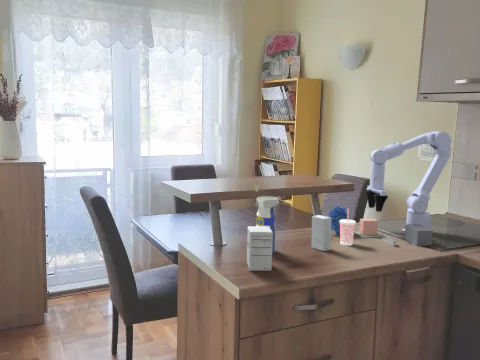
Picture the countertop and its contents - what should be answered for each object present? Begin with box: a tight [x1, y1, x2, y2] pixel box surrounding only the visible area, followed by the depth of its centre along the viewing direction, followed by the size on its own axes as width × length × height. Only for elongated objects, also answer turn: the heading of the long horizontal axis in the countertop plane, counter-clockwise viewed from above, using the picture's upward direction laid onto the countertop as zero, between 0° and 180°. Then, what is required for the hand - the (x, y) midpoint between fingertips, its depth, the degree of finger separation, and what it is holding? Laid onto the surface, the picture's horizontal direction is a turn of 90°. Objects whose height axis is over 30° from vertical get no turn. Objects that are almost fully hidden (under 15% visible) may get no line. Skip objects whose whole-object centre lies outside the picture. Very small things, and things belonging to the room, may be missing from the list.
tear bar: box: [381, 233, 397, 247], centre depth 177 cm, size 1×10×2 cm, turn 7°
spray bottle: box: [253, 182, 280, 254], centre depth 161 cm, size 8×9×25 cm
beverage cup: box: [339, 207, 357, 246], centre depth 173 cm, size 6×6×14 cm
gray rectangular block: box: [403, 224, 434, 247], centre depth 178 cm, size 6×10×6 cm, turn 7°
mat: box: [354, 230, 382, 239], centre depth 189 cm, size 9×9×1 cm
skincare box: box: [311, 214, 332, 252], centre depth 166 cm, size 6×4×12 cm
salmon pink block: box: [358, 218, 378, 235], centre depth 188 cm, size 6×4×6 cm, turn 97°
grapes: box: [328, 205, 351, 235], centre depth 188 cm, size 12×7×12 cm, turn 117°
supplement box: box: [246, 225, 273, 272], centre depth 145 cm, size 7×7×13 cm
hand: (375, 209), depth 194 cm, fingers open, 7 cm apart
